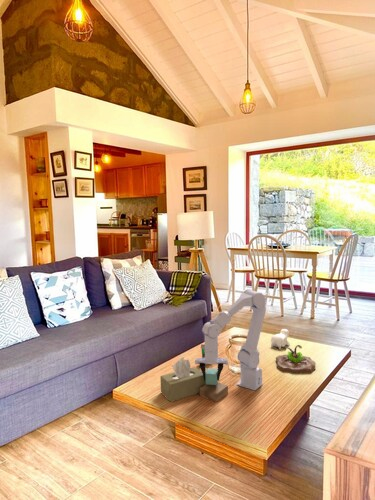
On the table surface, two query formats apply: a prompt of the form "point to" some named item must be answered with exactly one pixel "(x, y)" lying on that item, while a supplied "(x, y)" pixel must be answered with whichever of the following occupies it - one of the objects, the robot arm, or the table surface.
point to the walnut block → (214, 391)
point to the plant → (295, 362)
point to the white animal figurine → (280, 339)
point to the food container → (203, 350)
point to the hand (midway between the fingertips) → (211, 379)
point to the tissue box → (182, 381)
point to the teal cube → (211, 376)
